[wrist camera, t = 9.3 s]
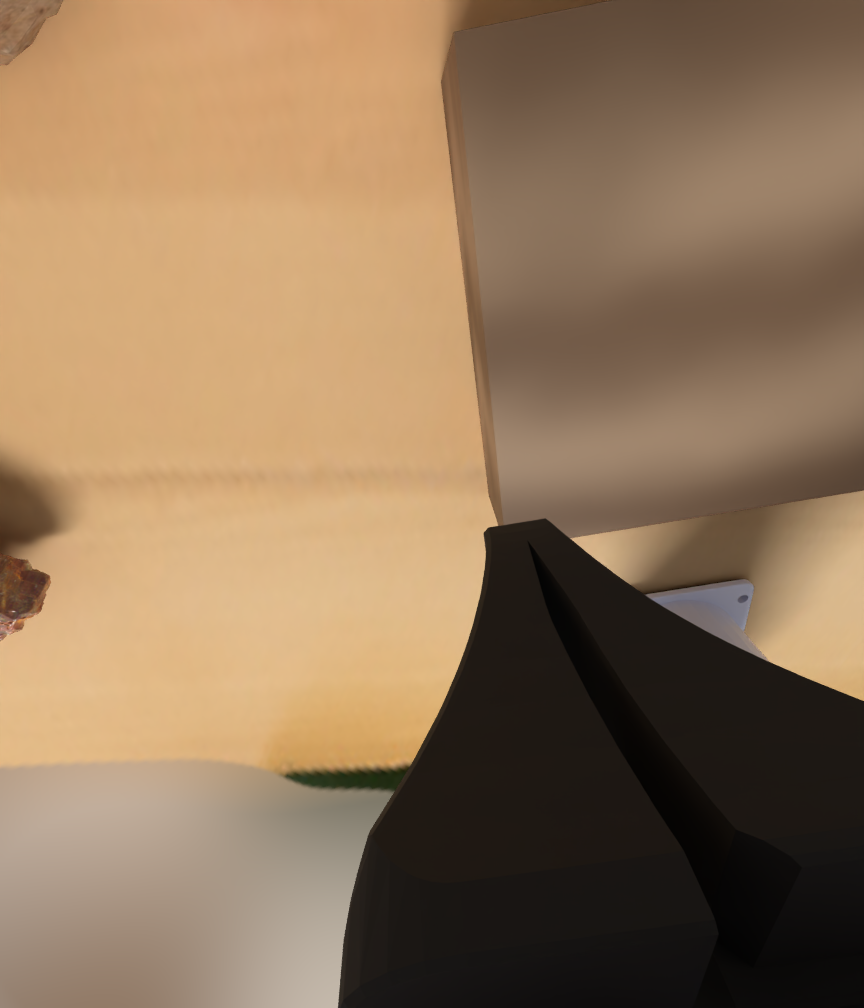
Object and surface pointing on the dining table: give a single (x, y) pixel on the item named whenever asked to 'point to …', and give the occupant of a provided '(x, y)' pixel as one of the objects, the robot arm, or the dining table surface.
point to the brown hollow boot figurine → (22, 24)
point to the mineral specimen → (19, 593)
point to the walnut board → (663, 256)
